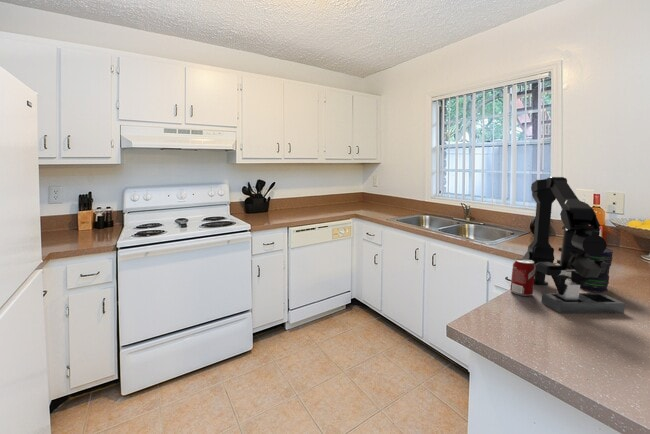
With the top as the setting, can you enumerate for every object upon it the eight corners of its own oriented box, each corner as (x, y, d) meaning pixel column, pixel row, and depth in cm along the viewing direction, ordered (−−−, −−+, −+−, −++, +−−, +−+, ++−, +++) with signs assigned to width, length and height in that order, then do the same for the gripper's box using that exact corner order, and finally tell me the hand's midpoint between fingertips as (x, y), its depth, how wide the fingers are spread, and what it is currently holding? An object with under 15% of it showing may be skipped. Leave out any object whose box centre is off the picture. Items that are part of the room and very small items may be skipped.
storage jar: (615, 292, 113) (621, 252, 111) (587, 292, 113) (593, 251, 111) (592, 282, 123) (597, 245, 121) (566, 282, 123) (571, 245, 121)
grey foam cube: (565, 300, 98) (567, 284, 97) (556, 295, 102) (557, 280, 101) (578, 300, 98) (580, 285, 97) (568, 295, 102) (570, 280, 101)
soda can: (521, 298, 107) (525, 264, 106) (505, 290, 114) (508, 258, 112) (537, 296, 109) (541, 262, 107) (520, 289, 116) (524, 257, 114)
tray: (541, 302, 104) (542, 293, 104) (600, 302, 104) (602, 293, 104) (559, 313, 96) (561, 303, 96) (623, 313, 97) (625, 303, 96)
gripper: (564, 253, 89) (557, 305, 92) (628, 253, 89) (620, 305, 92) (537, 244, 100) (531, 290, 103) (594, 244, 100) (588, 291, 103)
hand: (567, 294), depth 100 cm, fingers closed on grey foam cube, 4 cm apart
